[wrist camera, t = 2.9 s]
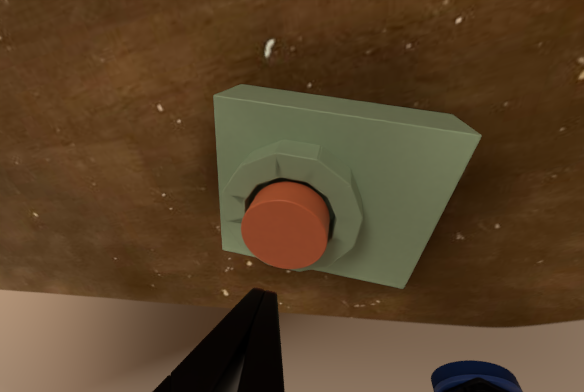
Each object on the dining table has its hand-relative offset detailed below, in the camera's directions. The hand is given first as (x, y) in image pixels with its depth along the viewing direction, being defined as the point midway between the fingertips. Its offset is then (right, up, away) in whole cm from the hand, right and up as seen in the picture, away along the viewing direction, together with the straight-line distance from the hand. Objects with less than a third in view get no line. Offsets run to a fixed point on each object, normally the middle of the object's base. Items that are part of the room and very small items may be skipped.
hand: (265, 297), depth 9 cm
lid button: (+1, +3, +4) cm, 5 cm away
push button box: (+3, +5, +8) cm, 10 cm away
